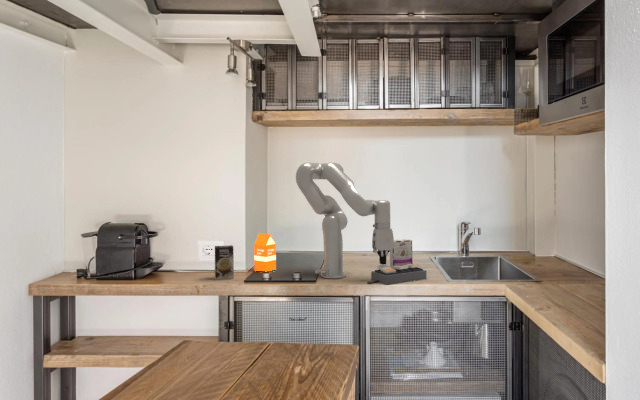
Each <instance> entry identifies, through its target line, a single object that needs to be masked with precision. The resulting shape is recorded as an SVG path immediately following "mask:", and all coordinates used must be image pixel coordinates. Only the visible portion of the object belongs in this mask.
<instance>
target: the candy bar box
mask: <svg viewBox="0 0 640 400" xmlns="http://www.w3.org/2000/svg"><path fill="white" fill-rule="evenodd" d="M409 264H413V240H412V239H410V238H409V239H407V238H406V239H394V248H393V250H392V251H390V252H389V267H393V266H402V265H409Z"/></svg>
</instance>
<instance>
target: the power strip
mask: <svg viewBox="0 0 640 400" xmlns="http://www.w3.org/2000/svg"><path fill="white" fill-rule="evenodd" d="M394 270H396V272H394V273H384V272H383V271H381V270H379V269H374V270H372V271H371V276H370V277H371V279H370V281H366V284H367V285H369V284H376V283H379V284H382V285H386V286H387V285H393V284H401V283H407V282H408V281H409V282H414V280H415V281H422V280H427V273H428V272H427V270H425V269H423V268H421V267H414V268H407V269H394Z"/></svg>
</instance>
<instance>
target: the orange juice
mask: <svg viewBox="0 0 640 400" xmlns="http://www.w3.org/2000/svg"><path fill="white" fill-rule="evenodd" d="M276 247H277V244H276V242H275V240H274V238H273V237H272V234H269V233H268V234H267V233H258V234H257V237H256V239H255V242H254V244H253V248H254V250H253V251H254V252H253V253H254V254H253V259H254V261H253V262H254V263H253V264H254V272H256V271H265V272H267V271H272V270H276V271H277V254H276V253H277V251H276V249H277V248H276Z"/></svg>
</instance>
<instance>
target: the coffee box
mask: <svg viewBox="0 0 640 400" xmlns="http://www.w3.org/2000/svg"><path fill="white" fill-rule="evenodd" d="M234 262H235V261H234V245H233V244H232V245H231V244H230V245H215V246H214V279H215V281H221V280H233V279H235V271H234V270H235V269H234V268H235V267H234V266H235V265H234Z"/></svg>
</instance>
